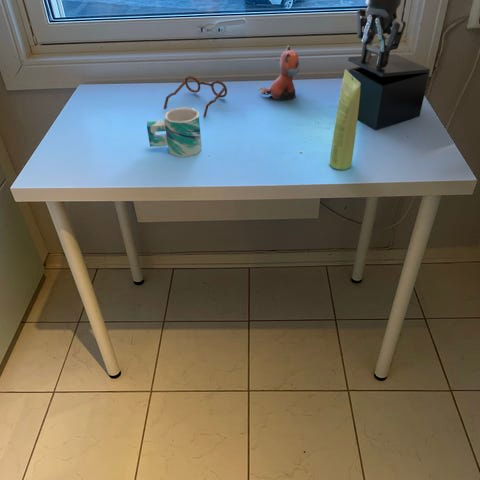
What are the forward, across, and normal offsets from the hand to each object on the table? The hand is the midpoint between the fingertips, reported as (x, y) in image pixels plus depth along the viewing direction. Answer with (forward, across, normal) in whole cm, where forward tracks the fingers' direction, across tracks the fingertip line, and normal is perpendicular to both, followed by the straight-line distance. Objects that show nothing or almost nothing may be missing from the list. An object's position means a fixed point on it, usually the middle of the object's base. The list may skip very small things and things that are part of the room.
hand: (373, 63), depth 124 cm
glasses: (+14, +32, +32) cm, 48 cm away
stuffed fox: (+14, +25, +10) cm, 30 cm away
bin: (+14, 0, -6) cm, 15 cm away
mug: (+14, +12, +48) cm, 51 cm away
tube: (+14, -15, +20) cm, 28 cm away
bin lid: (+2, 0, -5) cm, 5 cm away
